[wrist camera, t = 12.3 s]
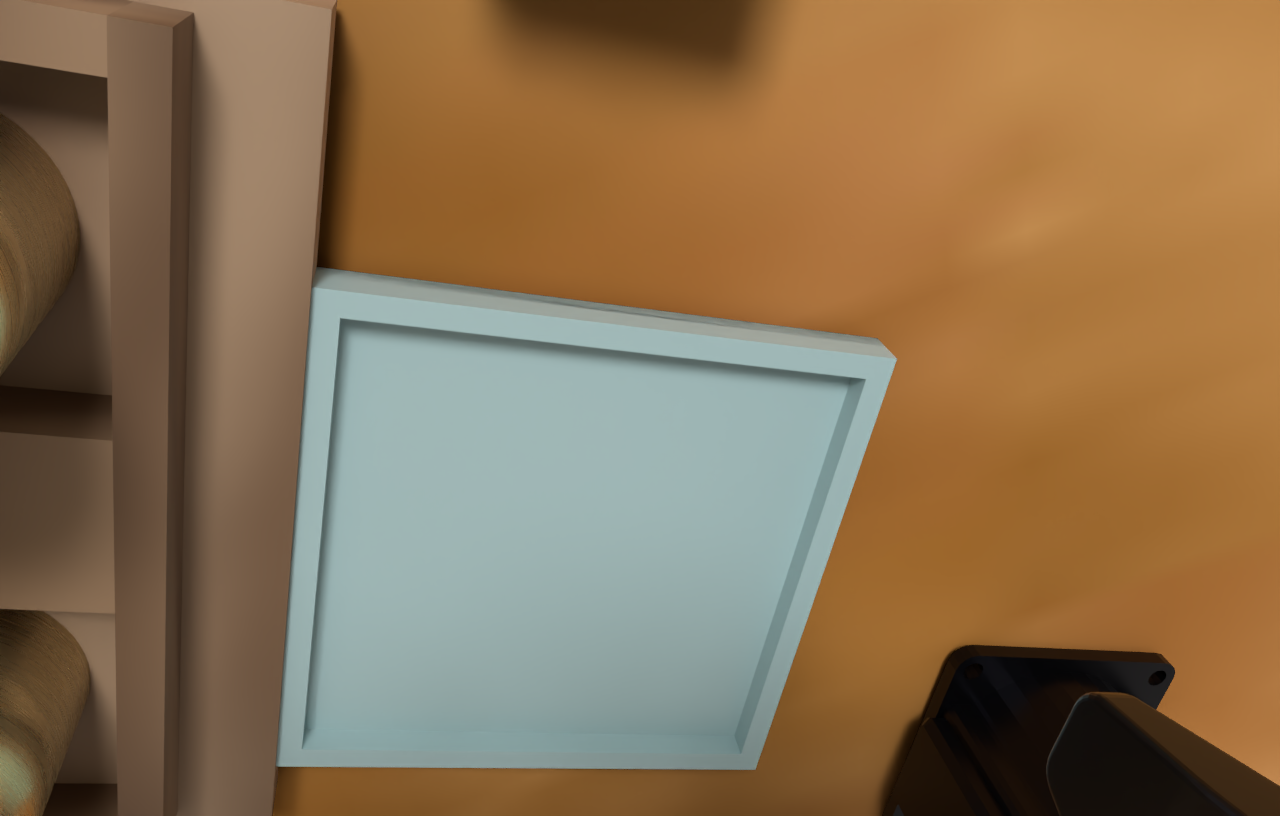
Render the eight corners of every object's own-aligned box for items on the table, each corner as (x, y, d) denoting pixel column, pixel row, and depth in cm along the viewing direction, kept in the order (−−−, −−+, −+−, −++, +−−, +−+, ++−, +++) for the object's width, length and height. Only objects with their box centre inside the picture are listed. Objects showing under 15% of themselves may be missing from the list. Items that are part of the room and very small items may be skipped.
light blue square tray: (877, 338, 21) (896, 359, 20) (743, 739, 26) (755, 769, 25) (316, 267, 18) (311, 287, 17) (281, 732, 23) (275, 766, 22)
